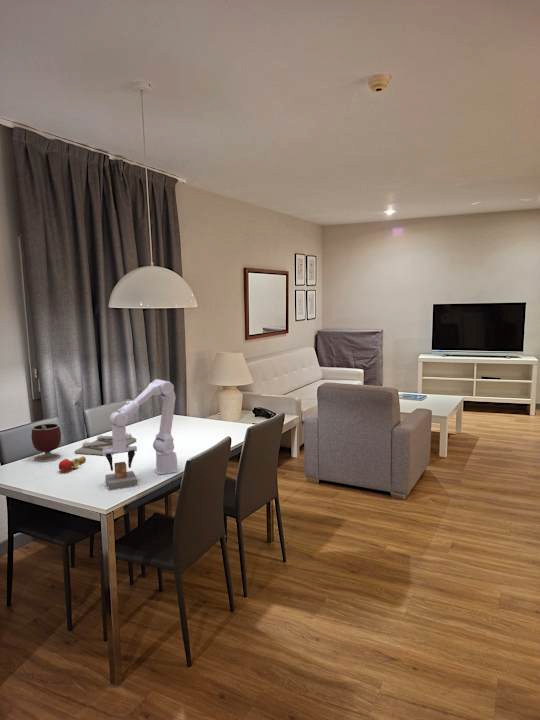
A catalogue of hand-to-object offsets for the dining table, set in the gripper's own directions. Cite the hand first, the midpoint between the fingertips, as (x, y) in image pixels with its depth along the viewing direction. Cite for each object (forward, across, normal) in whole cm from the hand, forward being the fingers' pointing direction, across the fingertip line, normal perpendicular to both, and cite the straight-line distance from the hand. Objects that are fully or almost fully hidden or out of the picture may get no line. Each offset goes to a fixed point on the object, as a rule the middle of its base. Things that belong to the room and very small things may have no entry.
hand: (120, 468), depth 223 cm
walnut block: (+4, 0, 0) cm, 4 cm away
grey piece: (+8, -1, -62) cm, 62 cm away
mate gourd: (+7, +29, -53) cm, 61 cm away
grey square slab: (+7, 0, 0) cm, 7 cm away
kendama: (+7, +18, -33) cm, 38 cm away
